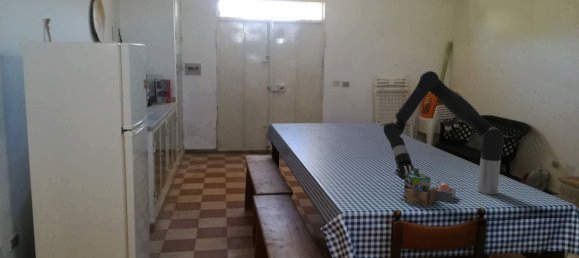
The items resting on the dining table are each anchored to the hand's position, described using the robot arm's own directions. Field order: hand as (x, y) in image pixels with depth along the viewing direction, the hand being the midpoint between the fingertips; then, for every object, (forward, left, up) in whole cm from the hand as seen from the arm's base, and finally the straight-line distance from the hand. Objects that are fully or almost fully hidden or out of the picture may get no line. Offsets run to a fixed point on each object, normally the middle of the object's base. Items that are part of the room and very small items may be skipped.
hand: (411, 186), depth 208 cm
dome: (-14, -7, -4) cm, 16 cm away
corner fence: (-6, +6, -5) cm, 9 cm away
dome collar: (-14, -7, -5) cm, 16 cm away
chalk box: (-3, +4, -5) cm, 7 cm away
